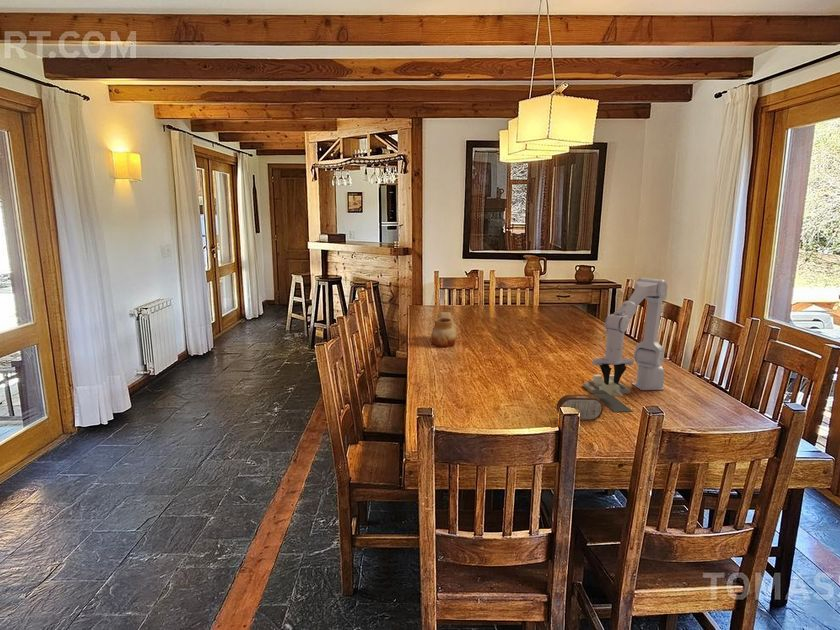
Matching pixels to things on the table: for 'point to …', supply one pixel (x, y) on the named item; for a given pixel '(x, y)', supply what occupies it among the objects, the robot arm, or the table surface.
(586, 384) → the switch panel
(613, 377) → the tab
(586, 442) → the table surface
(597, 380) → the tab
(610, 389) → the driver
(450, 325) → the ceramic vessel
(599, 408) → the tin
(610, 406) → the tool mat
